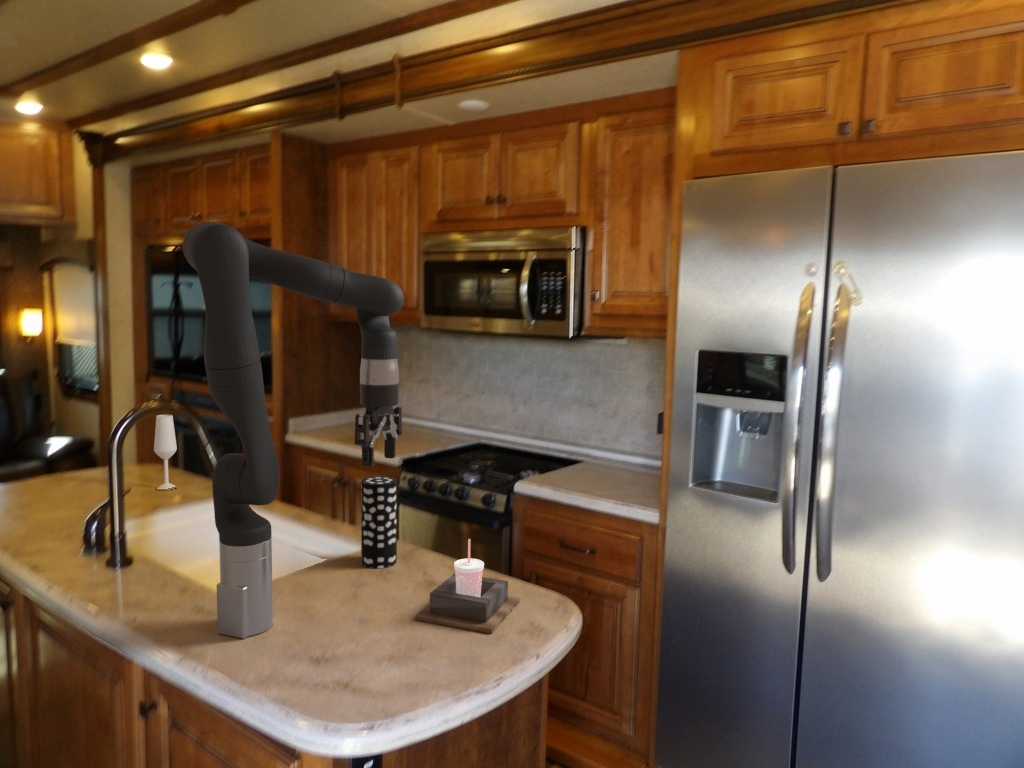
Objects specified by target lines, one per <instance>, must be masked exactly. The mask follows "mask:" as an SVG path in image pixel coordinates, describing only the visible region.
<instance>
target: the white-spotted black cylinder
mask: <svg viewBox="0 0 1024 768" xmlns="http://www.w3.org/2000/svg"><path fill="white" fill-rule="evenodd" d="M360 483H361V484H360V493H361V494H360V496H361V497H360V499H361V501H360V502H361V503H360V505H361V506H360V510H361V511H360V516H361V517H360V519H361V521H360V523H361V524H360V526H361V529H360V531H361V533H360V534H361V535H360V536H361V539H360V540H361V541H360V545H361V547H360V548H361V552H360V553H361V554H360V555H361V556H360V558H361V559H360V560H361V565H362V566H363V567H366V568H369V569H385V568H389V567H392V566H394V565H396V564H397V559H398V557H397V555H398V554H397V552H398V551H397V550H398V549H397V548H398V546H397V544H398V543H397V541H398V540H397V539H398V538H397V537H398V525H397V524H398V519H397V518H398V516H397V515H398V511H397V510H398V506H397V505H398V479H397V478H396V477H393V476H392V477H391V476H384V475H383V476H381V475H380V476H379V475H378V476H367V477H364V478H362V479H361V480H360Z"/></svg>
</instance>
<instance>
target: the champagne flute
mask: <svg viewBox="0 0 1024 768" xmlns="http://www.w3.org/2000/svg"><path fill="white" fill-rule="evenodd" d="M153 444H154V445H153V452H154V453H155V454H156V455H157V457H159V458H160V459H162V460H163V469H164V471H163V475H164V483H162V484H161V485H159V486H158V487H156V488H157V489H168V488H172V487H175V486H176V485H175V484H172V483H170V482H169V480H170V479H169V459H171V457H172V456H174V454H175V453H176V452H177V449H178V448H177V438H176V431H175V424H174V416H173V414H157V415H155V431H154V443H153Z"/></svg>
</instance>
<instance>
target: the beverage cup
mask: <svg viewBox="0 0 1024 768" xmlns="http://www.w3.org/2000/svg"><path fill="white" fill-rule="evenodd" d="M471 541H472V540H471V538H468V540H467V558H461V559H458V560H455V561H454V562H453V569H454V571H455V574H456V593H457V594H463V595H469V596H475V597H481V584H482V577H483V570H484V568H485V567H484V566H485V562H484V561H482V560H481V559H478V558H472V557H471Z"/></svg>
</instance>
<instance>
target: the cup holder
mask: <svg viewBox="0 0 1024 768" xmlns="http://www.w3.org/2000/svg"><path fill="white" fill-rule="evenodd" d="M519 602H520V603H521V598H520V597H518V596H512V595H509V580H505V579H504V580H503V579H498V578H497V579H496V578H492V577H491V578H490V577H484V576H482V584H481V597H475V596H469V595H463V594H457V593H456V574H455V573H453V574H452V575H451V576H448V578H447V579H446V580H444V581H443V582H442V583H441V584H439V585H438V586H437V587H436V588H435V589H433V590H432V591H431V592H429V604H427V605H426V606H425V607H424V608H423V609H421V610H420V611H419V612H418V613H417V614H416V615H415V621H420V622H426V623H431V624H435V623H436V624H437V625H441V624H442V625H441V626H446V625H447V627H451V626H453V628H457V627H459V628H458V629H462V628H464V629H463V630H467V629H468V631H473V632H478V631H479V633H483V632H486V633H485V634H489V633H491V634H490V635H493V633H494V632H495V631H496V630H497V629H496V628H499V626H500V625H501V624H502V623H503V622H504V621H505V620H504V619H507V617H508V616H509V615H510V614H511V613H512V612H511V610H512V609H513V608H514V607H515V606H516V605H517V604H518V603H519ZM520 603H519V604H520ZM519 604H518V605H519ZM518 605H517V606H518ZM517 606H516V607H517ZM516 607H515V608H516ZM515 608H514V609H515ZM510 612H511V613H510ZM509 613H510V614H509ZM508 614H509V615H508ZM507 615H508V616H507ZM506 616H507V617H506ZM503 620H504V621H503ZM502 621H503V622H502ZM501 622H502V623H501ZM500 623H501V624H500ZM499 624H500V625H499ZM495 629H496V630H495ZM494 630H495V631H494ZM493 631H494V632H493Z"/></svg>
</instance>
